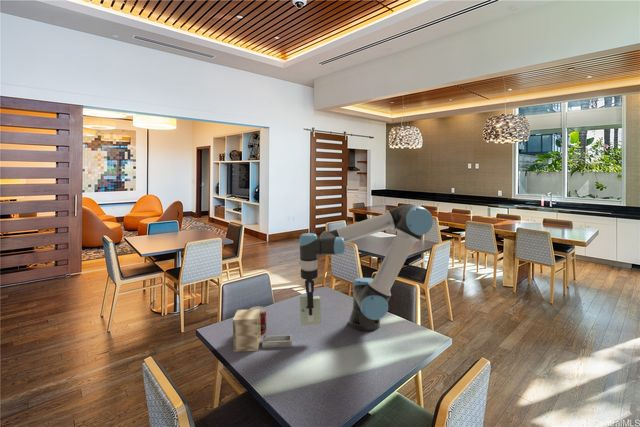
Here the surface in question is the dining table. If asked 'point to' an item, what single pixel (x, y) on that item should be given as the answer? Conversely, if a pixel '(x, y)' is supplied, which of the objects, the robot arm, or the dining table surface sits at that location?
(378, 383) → the dining table surface
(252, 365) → the dining table surface
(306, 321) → the pale green rectangular block
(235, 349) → the open wooden box
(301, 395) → the dining table surface
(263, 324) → the canned food
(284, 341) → the grey rectangular frame
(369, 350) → the dining table surface
